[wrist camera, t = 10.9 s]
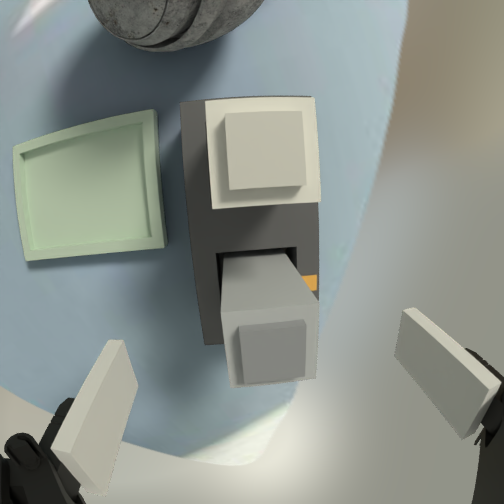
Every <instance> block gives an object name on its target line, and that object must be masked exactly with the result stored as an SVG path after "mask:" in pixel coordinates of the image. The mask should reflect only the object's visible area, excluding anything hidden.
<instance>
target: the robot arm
mask: <svg viewBox="0 0 504 504" xmlns="http://www.w3.org/2000/svg"><path fill="white" fill-rule="evenodd" d="M394 356H395V357H396V359H397V360H398V361H399V362H400V363H401V365H402V366H403V367H404V368H405V369H406V371H407V372H408V373H409V374H410V375H411V377H412V378H413V379H414V380H415V382H416V383H417V384H418V385H419V386H420V388H421V389H422V390H423V391H424V393H425V394H426V395H427V396H428V398H429V399H430V400H431V401H432V402H433V404H434V405H435V406H436V408H437V409H438V410H439V411H440V413H441V414H442V415H443V416H444V417H445V419H446V420H447V421H448V423H449V424H450V425H451V427H452V428H453V429H454V430H455V432H456V433H457V434H458V435H459V437H460V438H461V439H462V440H463V439H465V438H466V437H468V436H470V435H472V434H473V433H475V431H476V430H477V428H478V426H479V425H480V423H482V425H483V426H484V428H483V430H482V431H481V433H480V434H479V436H478V438H477V439H476V441H475V444H474V445H477V443H478V442H479V440H480V439H481V443H480V455H479V464H478V471H477V478H476V484H475V490H474V495H473V500H472V504H504V377H503V376H502V375H501V374H500V373H499V372H498V371H496V370H495V369H494V368H493V367H492V366H491V365H488V363H487V362H486V361H485V360H483V358H482V357H480V356H479V355H478V354H477V353H476V352H474V351H472V350H470V349H467V348H465V349H464V348H462V346H460V345H459V344H458V343H457V342H456V341H455V340H453V339H452V338H451V337H450V336H449V335H447V334H446V333H445V332H444V331H443V330H442V329H440V328H439V327H438V326H437V325H436V324H434V323H433V322H432V321H431V320H429V319H428V318H427V317H426V316H424V315H423V314H422V313H421V312H420V311H418V310H417V309H416V308H410V309H406V310H403V311H402V318H401V324H400V329H399V334H398V340H397V344H396V350H395V354H394ZM137 389H138V383H137V380H136V377H135V374H134V371H133V368H132V365H131V362H130V359H129V356H128V353H127V350H126V347H125V343H124V340H108V342H107V344H106V345H105V347H104V349H103V350H102V352H101V354H100V355H99V357H98V359H97V361H96V362H95V364H94V366H93V368H92V369H91V371H90V373H89V375H88V376H87V378H86V380H85V382H84V384H83V385H82V387H81V389H80V391H79V393H78V395H77V396H76V398H75V399H74V398H67V399H66V400H65V401H64V402H63V403H62V404H60V405H59V407H58V409H57V411H56V413H55V416H53V418H52V420H51V423H50V424H49V426H48V427H47V429H46V431H45V433H44V435H43V437H42V439H41V441H40V443H39V445H38V444H37V442H36V441H35V439H34V438H33V437H32V436H31V435H29V434H26V433H17V434H15V435H13V436H11V437H10V438H9V439H8V440H7V442H6V444H5V447H4V451H5V453H6V454H7V455H8V457H9V458H10V459H8V458H3V457H2V455H1V454H0V504H86V503H85V501H84V499H83V497H82V496H81V494H80V493H79V488H80V485H81V486H82V487H83V488H84V489H85V490H86V491H87V492H88V493H92V494H97V495H102V496H106V494H107V490H108V487H109V483H110V479H111V475H112V472H113V468H114V464H115V461H116V457H117V454H118V450H119V446H120V443H121V440H122V436H123V433H124V430H125V426H126V423H127V420H128V417H129V414H130V410H131V407H132V404H133V401H134V398H135V395H136V392H137Z"/></svg>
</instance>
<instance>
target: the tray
mask: <svg viewBox="0 0 504 504" xmlns="http://www.w3.org/2000/svg"><path fill="white" fill-rule="evenodd" d="M13 170H14V185H15V196H16V205H17V214H18V221H19V227H20V234H21V239H22V245H23V250H24V255H25V260H26V261H31V260H41V259H51V258H61V257H71V256H81V255H92V254H102V253H113V252H124V251H135V250H146V249H157V248H165V247H166V246H167V244H168V240H167V232H166V223H165V214H164V205H163V194H162V183H161V171H160V157H159V141H158V119H157V112H156V111H155V110H154V109H149V110H144V111H138V112H133V113H128V114H123V115H118V116H113V117H109V118H105V119H100V120H96V121H92V122H88V123H84V124H81V125H77V126H73V127H70V128H66V129H63V130H60V131H56V132H53V133H50V134H47V135H44V136H41V137H38V138H35V139H32V140H29V141H27V142H24V143H21V144H18V145H16V146H13Z"/></svg>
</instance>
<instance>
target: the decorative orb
mask: <svg viewBox="0 0 504 504" xmlns="http://www.w3.org/2000/svg"><path fill="white" fill-rule="evenodd" d="M263 1H264V0H88V2H89V4H90V7H91V9H92V11H93V13H94V14H95V16H96V18H97V19H98V21H99V22H100V23H101V24H102V25H103V27H104V28H105V29H106V30H107V31H109V32H110V33H111V34H113V35H114V36H116V37H118V38H120V39H122V40H125V41H126V43H128V44H130V45H132V46H133V47H136V48H138V49H141V50H145V51H152V52H170V51H176V50H180V49H183V48H186V47H192V46H196V45H200V44H203V43H206V42H209V41H212V40H214V39H217V38H219V37H221V36H223V35H225V34H227V33H228V32H230V31H232V30H234V29H235V28H236V27H238V26H239V25H241V24H242V23H243V22H245V21H246V20H247V19H248V18H249V17H250V16H251V15H252V14H253V13H254V12H255V11H256V10H257V9H258V8H259V6H260V5H261V4H262V2H263Z"/></svg>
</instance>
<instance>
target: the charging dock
mask: <svg viewBox="0 0 504 504" xmlns="http://www.w3.org/2000/svg"><path fill="white" fill-rule="evenodd" d="M180 117H181V137H182V153H183V167H184V180H185V192H186V203H187V214H188V224H189V233H190V243H191V251H192V260H193V268H194V276H195V283H196V291H197V298H198V305H199V312H200V318H201V325H202V331H203V338H204V344H205V345H214V344H224V336H223V328H222V320H221V296H222V279H223V262H224V252H234V251H246V250H258V249H271V248H282V249H283V251H284V252H285V254H286V255H287V257H288V258H289V259H290V261H291V262H292V264H293V265H294V267H295V268H296V270H297V271H298V272H299V274H300V275H301V277H302V278H303V280H304V281H305V283H306V284H307V285H308V287H309V288H310V290H311V291H312V293H313V294H314V296H315V297H316V299H317V300H318V301H319V217H318V202H321V187H320V166H319V149H318V134H317V121H316V110H315V99H314V98H311V96H247V97H229V98H216V99H205V100H196V101H187V102H180Z"/></svg>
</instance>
